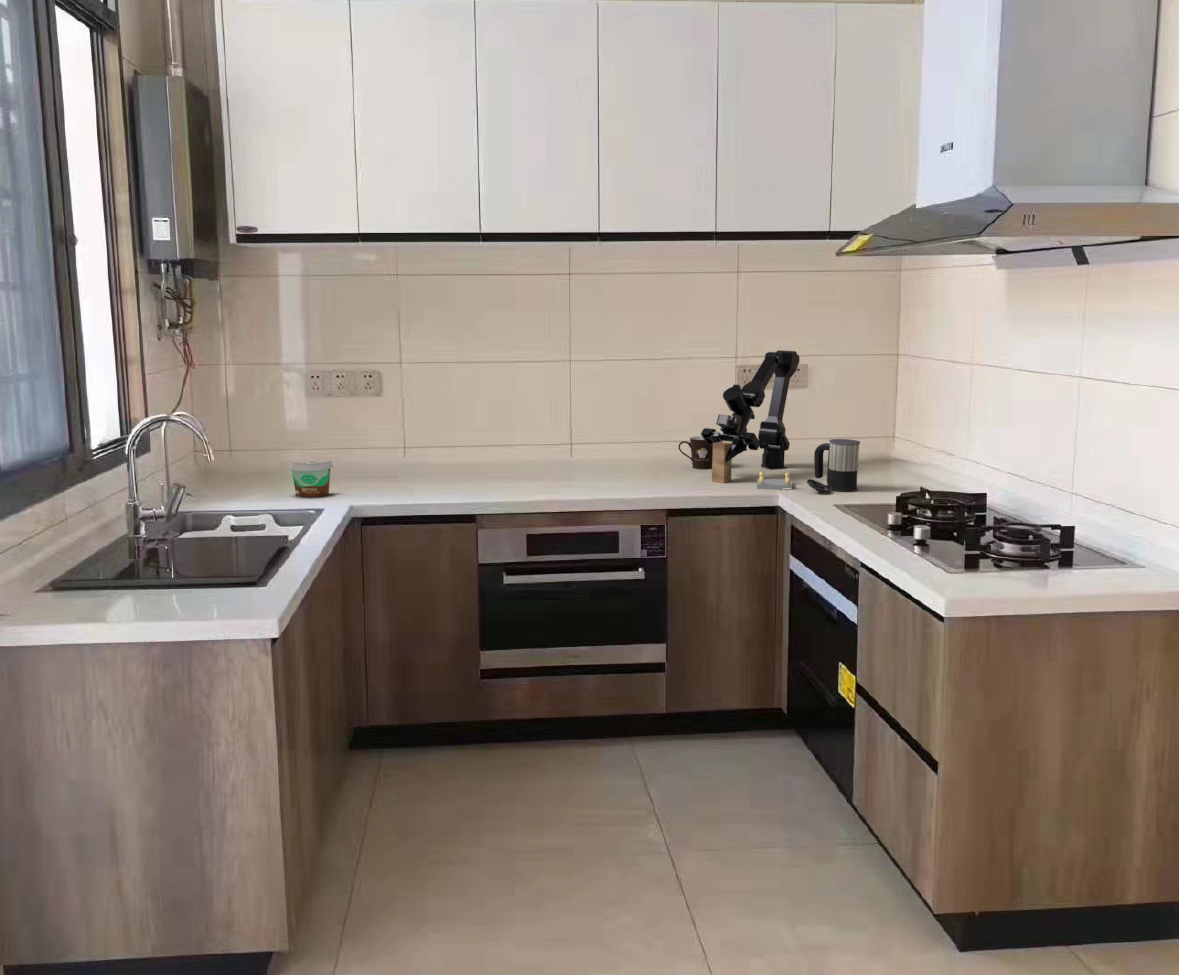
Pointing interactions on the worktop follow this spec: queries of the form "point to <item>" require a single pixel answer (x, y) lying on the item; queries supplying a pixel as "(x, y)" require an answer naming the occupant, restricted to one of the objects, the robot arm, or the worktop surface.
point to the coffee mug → (699, 453)
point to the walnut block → (721, 463)
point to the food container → (311, 478)
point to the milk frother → (837, 466)
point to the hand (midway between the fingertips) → (719, 460)
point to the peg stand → (774, 482)
